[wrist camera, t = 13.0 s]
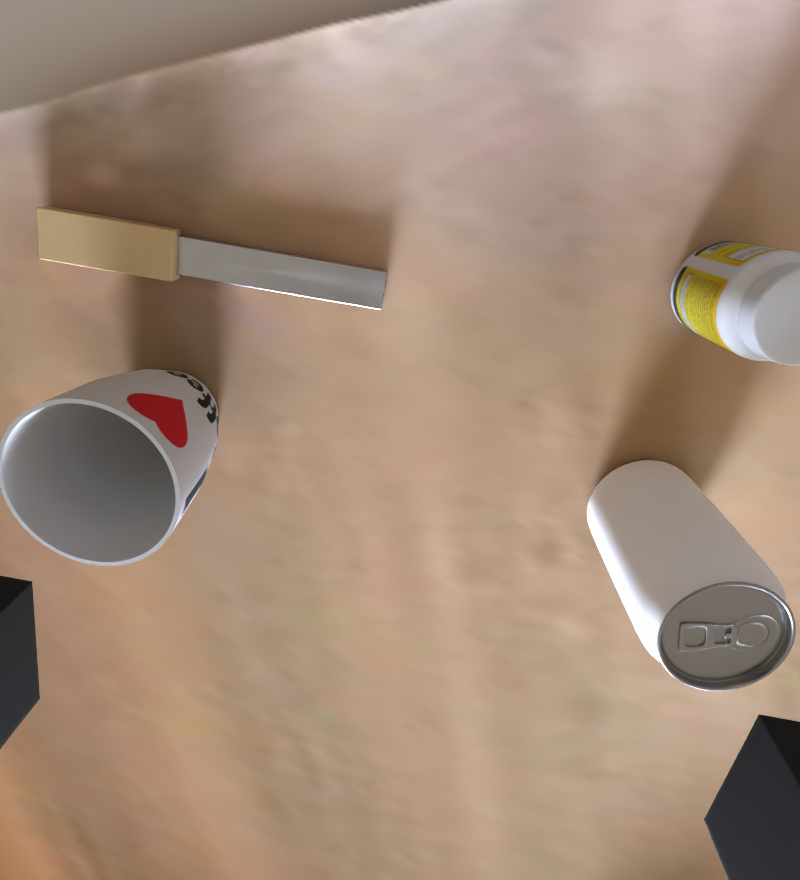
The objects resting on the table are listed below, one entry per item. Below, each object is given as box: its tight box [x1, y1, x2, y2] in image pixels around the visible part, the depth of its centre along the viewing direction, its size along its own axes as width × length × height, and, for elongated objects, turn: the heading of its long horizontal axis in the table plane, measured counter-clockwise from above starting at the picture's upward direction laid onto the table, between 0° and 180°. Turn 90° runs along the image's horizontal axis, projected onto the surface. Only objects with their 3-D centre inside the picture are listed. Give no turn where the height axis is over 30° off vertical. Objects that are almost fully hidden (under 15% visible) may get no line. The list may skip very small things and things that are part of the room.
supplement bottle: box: [670, 241, 800, 366], centre depth 29 cm, size 5×5×8 cm
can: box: [587, 460, 796, 691], centre depth 32 cm, size 6×6×12 cm
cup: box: [0, 369, 219, 566], centre depth 32 cm, size 8×8×10 cm
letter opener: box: [36, 206, 387, 310], centre depth 33 cm, size 18×3×1 cm, turn 81°
